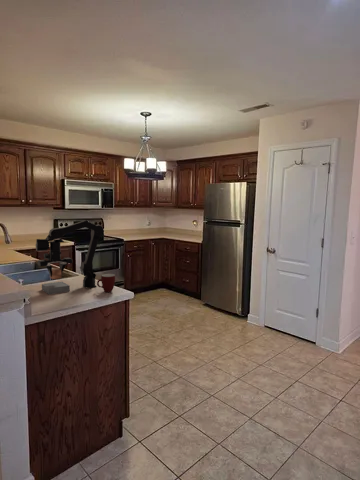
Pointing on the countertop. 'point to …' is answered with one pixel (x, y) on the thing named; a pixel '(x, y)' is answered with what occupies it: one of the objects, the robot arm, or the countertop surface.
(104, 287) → the mug
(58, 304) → the countertop surface
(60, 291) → the plinth
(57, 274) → the cube
